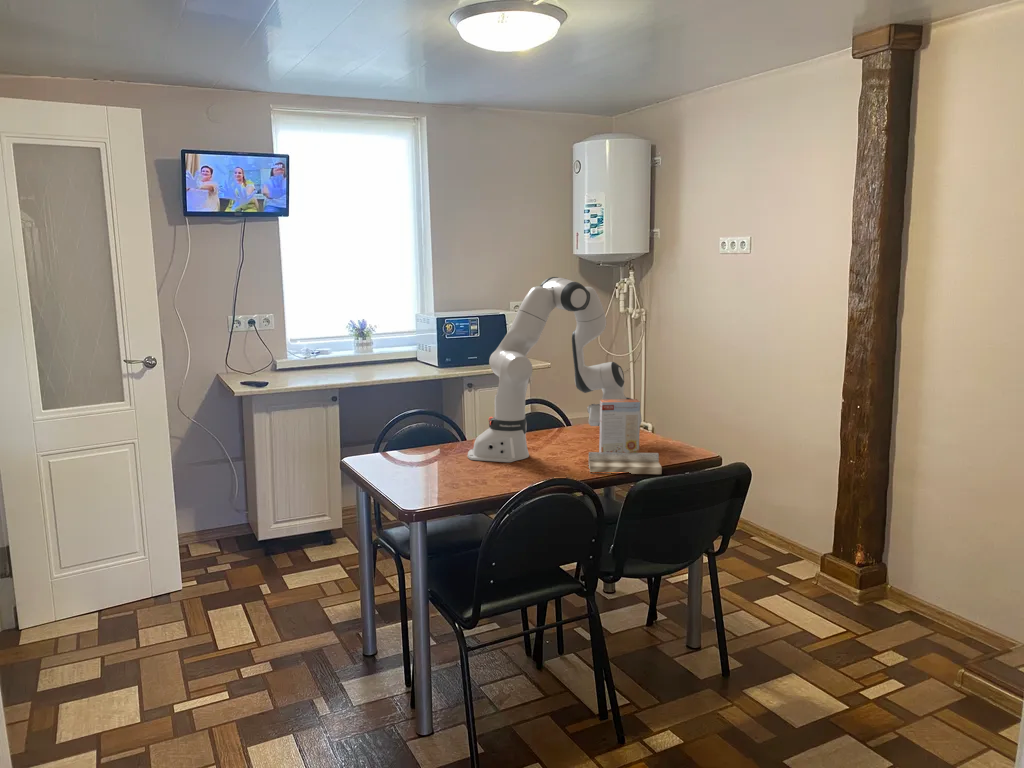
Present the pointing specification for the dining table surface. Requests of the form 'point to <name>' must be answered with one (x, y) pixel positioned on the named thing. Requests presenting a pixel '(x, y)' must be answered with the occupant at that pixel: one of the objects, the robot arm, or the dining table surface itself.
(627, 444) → the cracker box
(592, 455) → the edge rail
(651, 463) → the birch plank
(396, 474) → the dining table surface
